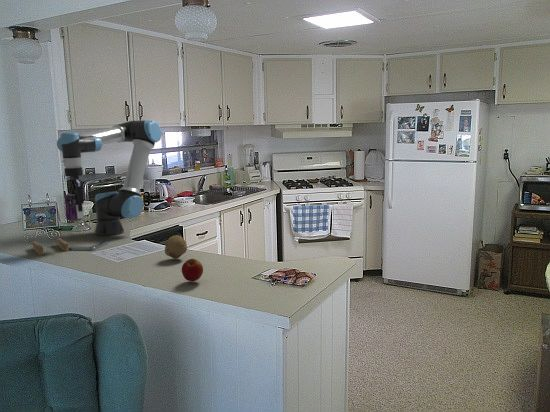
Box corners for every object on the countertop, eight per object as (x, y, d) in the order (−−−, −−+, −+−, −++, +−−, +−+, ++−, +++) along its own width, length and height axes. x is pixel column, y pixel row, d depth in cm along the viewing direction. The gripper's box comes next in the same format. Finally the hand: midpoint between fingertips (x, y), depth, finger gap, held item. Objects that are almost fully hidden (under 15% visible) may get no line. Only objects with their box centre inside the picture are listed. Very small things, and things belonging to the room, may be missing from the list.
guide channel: (60, 244, 221) (59, 237, 221) (68, 251, 209) (68, 243, 208) (32, 248, 214) (32, 241, 214) (40, 255, 202) (39, 247, 201)
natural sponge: (192, 257, 194) (191, 234, 193) (177, 262, 187) (175, 238, 185) (177, 254, 199) (176, 232, 198) (161, 259, 192) (160, 236, 191)
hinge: (113, 247, 215) (113, 244, 215) (71, 253, 204) (71, 251, 203) (106, 243, 223) (106, 240, 223) (65, 249, 212) (65, 246, 212)
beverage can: (75, 222, 207) (72, 195, 205) (63, 221, 210) (60, 195, 207) (87, 218, 213) (84, 193, 211) (75, 217, 216) (72, 192, 214)
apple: (177, 282, 162) (176, 260, 161) (193, 276, 169) (192, 255, 168) (192, 285, 158) (191, 263, 157) (208, 279, 165) (207, 257, 164)
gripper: (59, 166, 212) (65, 215, 216) (69, 169, 198) (75, 221, 202) (76, 165, 216) (81, 213, 220) (87, 167, 202) (93, 218, 207)
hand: (78, 217), depth 211 cm, fingers closed on beverage can, 5 cm apart
